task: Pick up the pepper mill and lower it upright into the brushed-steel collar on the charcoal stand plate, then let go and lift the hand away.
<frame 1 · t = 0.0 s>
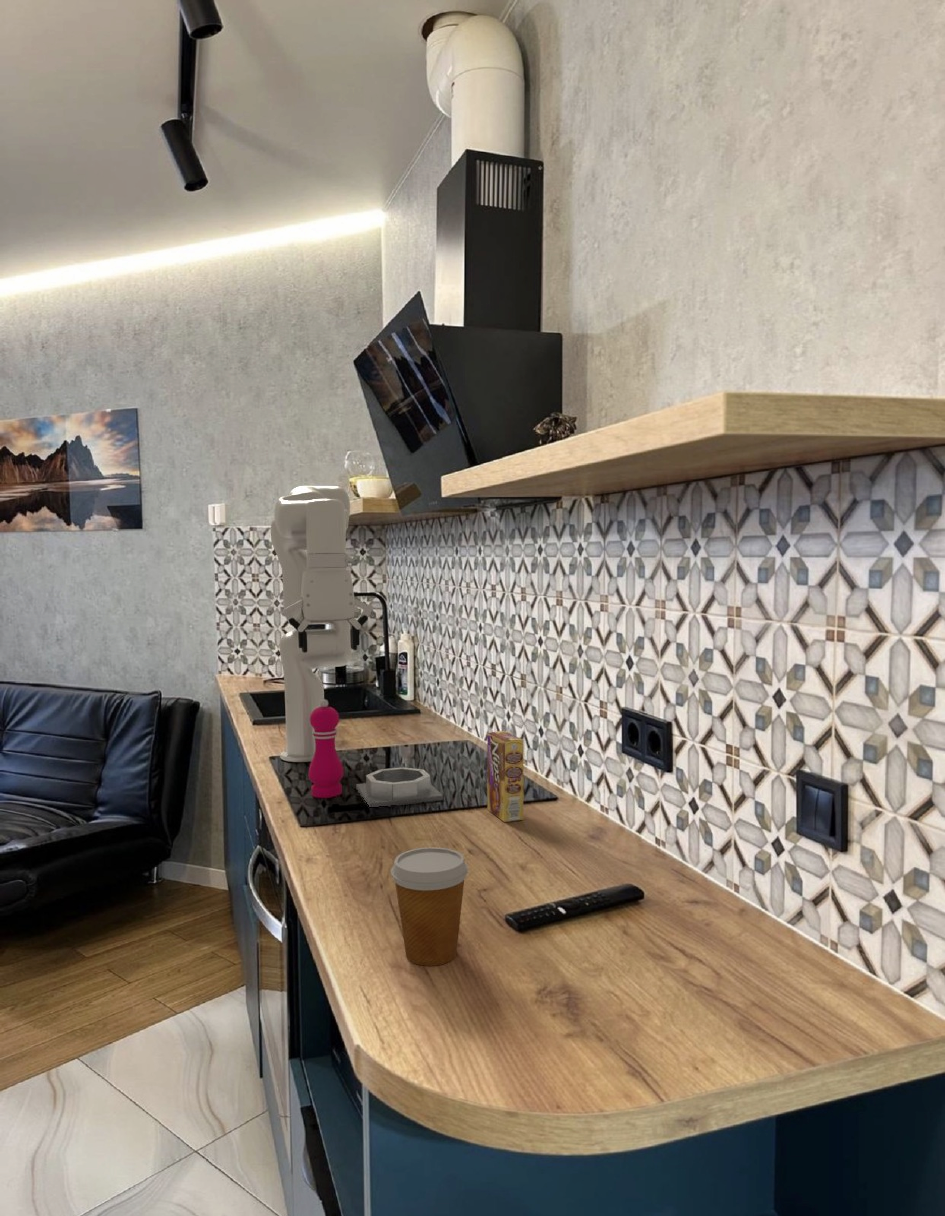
hand: (329, 650, 164), 31 cm above the worktop, tool pointing down, fingers open, 9 cm apart
pepper mill: (326, 794, 175), on the worktop
disposable coffee cup: (431, 955, 104), on the worktop
candy box: (505, 816, 159), on the worktop
collar stand: (398, 794, 174), on the worktop
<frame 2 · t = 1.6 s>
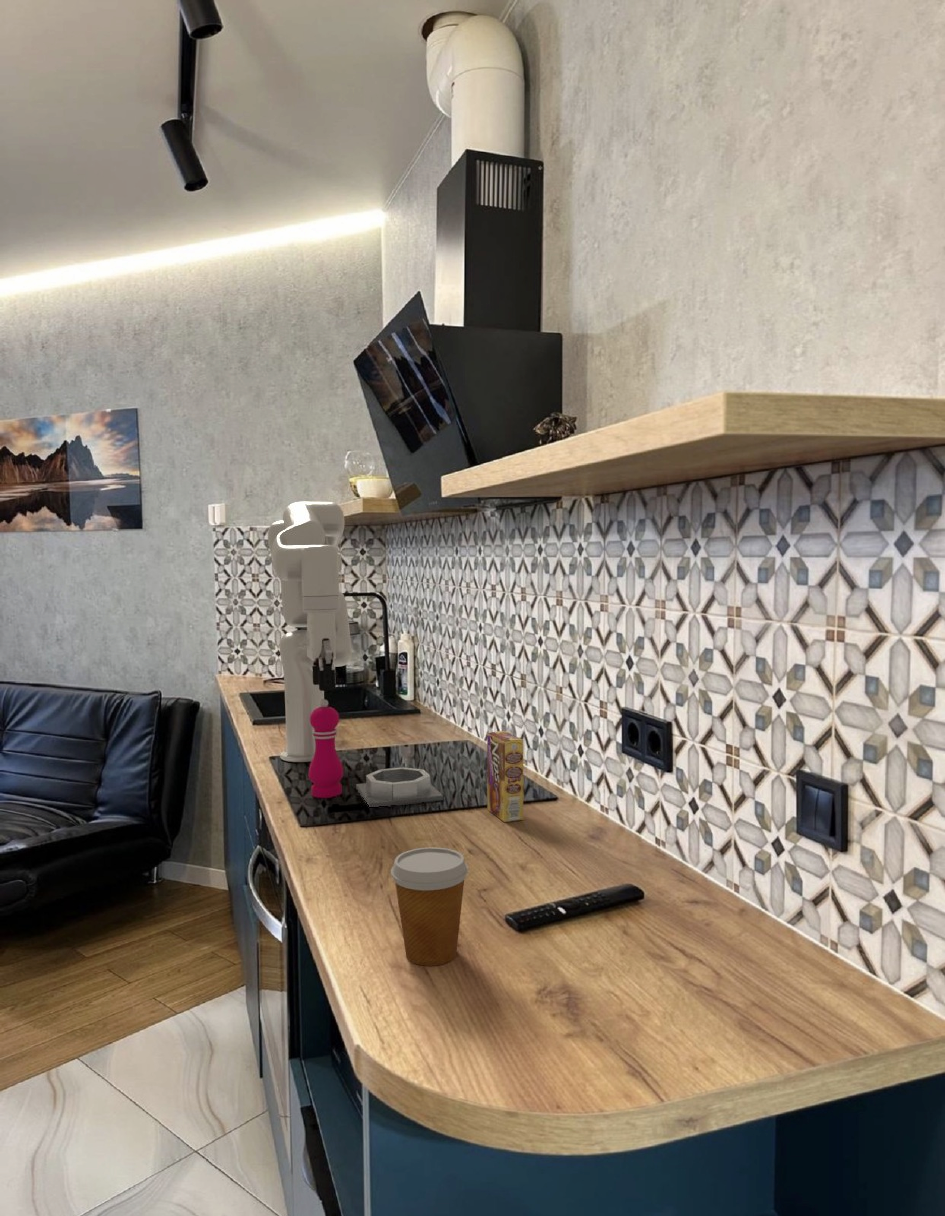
hand: (323, 687, 174), 23 cm above the worktop, tool pointing down, fingers open, 9 cm apart
nothing on the worktop moved.
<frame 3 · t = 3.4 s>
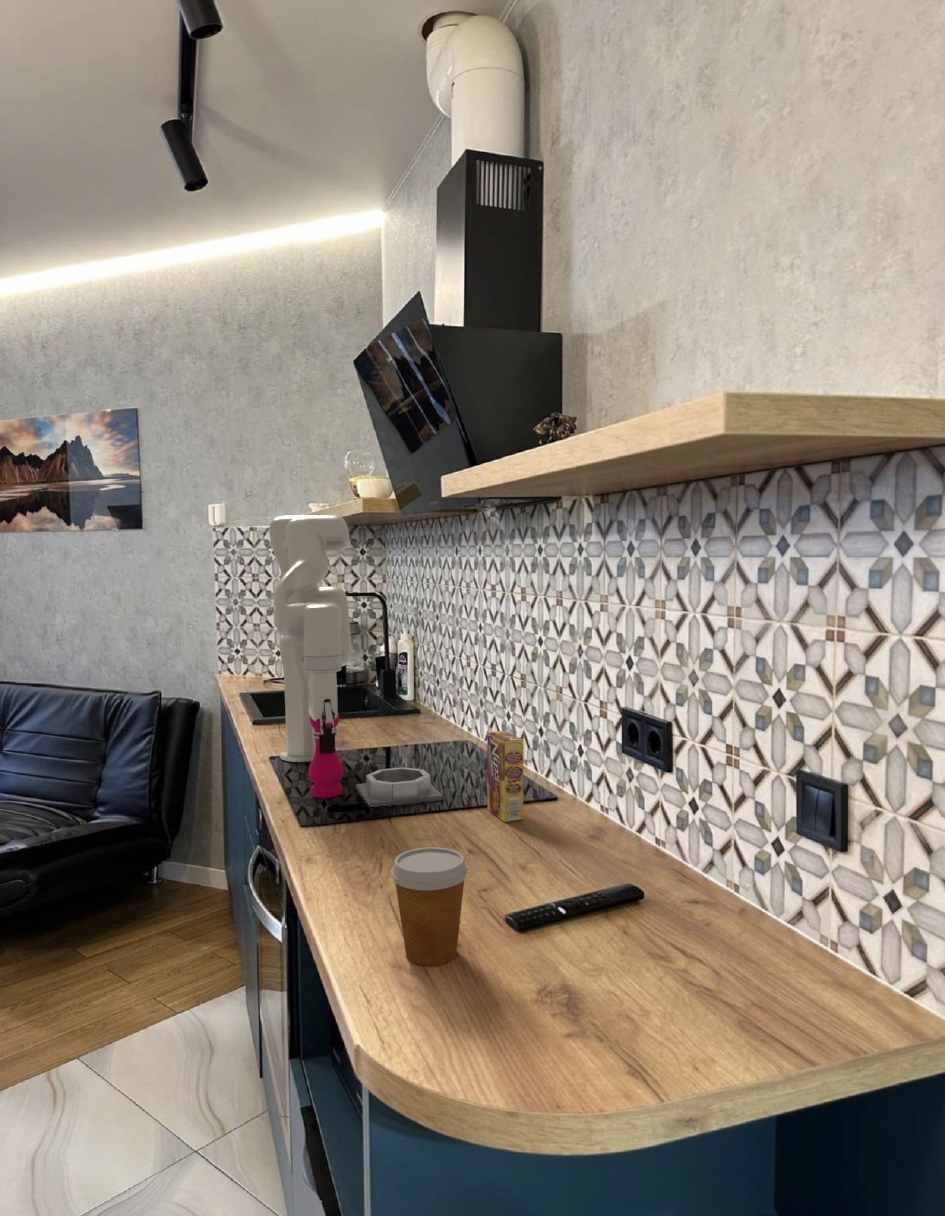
hand: (325, 749, 175), 9 cm above the worktop, tool pointing down, fingers closed on pepper mill, 5 cm apart
pepper mill: (326, 794, 175), on the worktop, touching gripper
everything else where it was.
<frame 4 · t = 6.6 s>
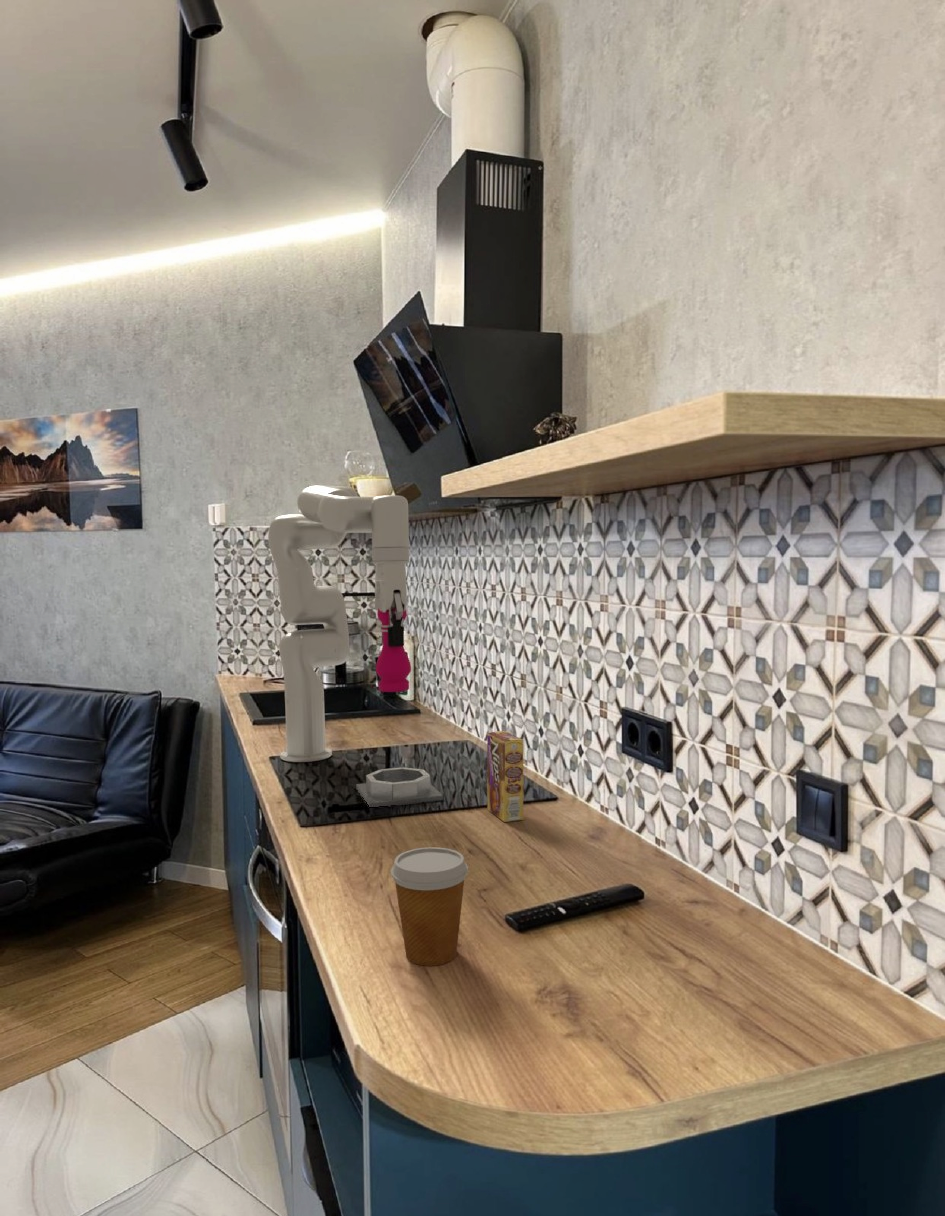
hand: (392, 644, 172), 31 cm above the worktop, tool pointing down, fingers closed on pepper mill, 5 cm apart
pepper mill: (394, 690, 173), point 22 cm above the worktop, touching gripper
everything else where it was.
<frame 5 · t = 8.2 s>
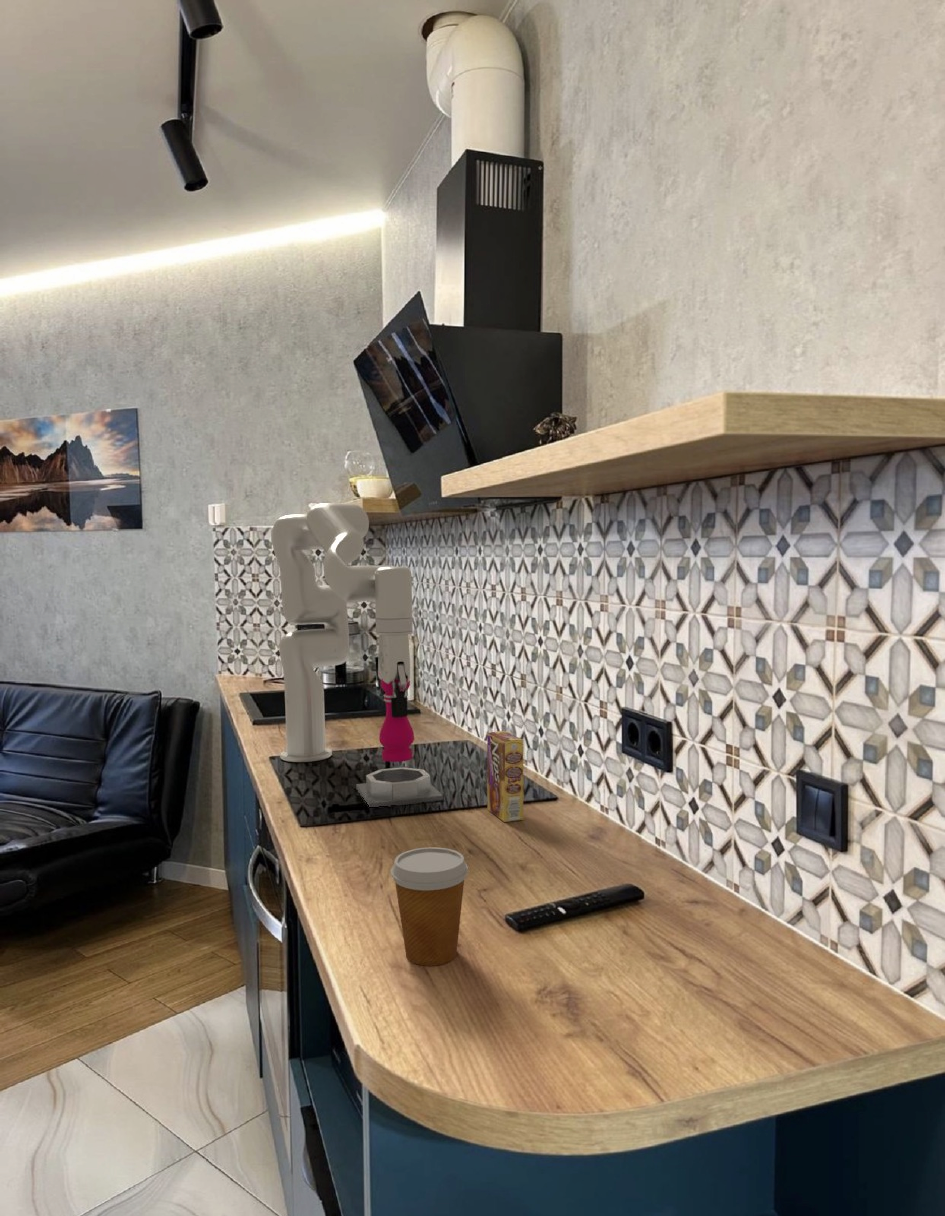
hand: (396, 713, 173), 17 cm above the worktop, tool pointing down, fingers closed on pepper mill, 5 cm apart
pepper mill: (397, 759, 174), point 7 cm above the worktop, touching gripper
everything else where it was.
when the fingers open (12 cm above the worktop, at t = 9.7 s): pepper mill drops 1 cm, resting on collar stand.
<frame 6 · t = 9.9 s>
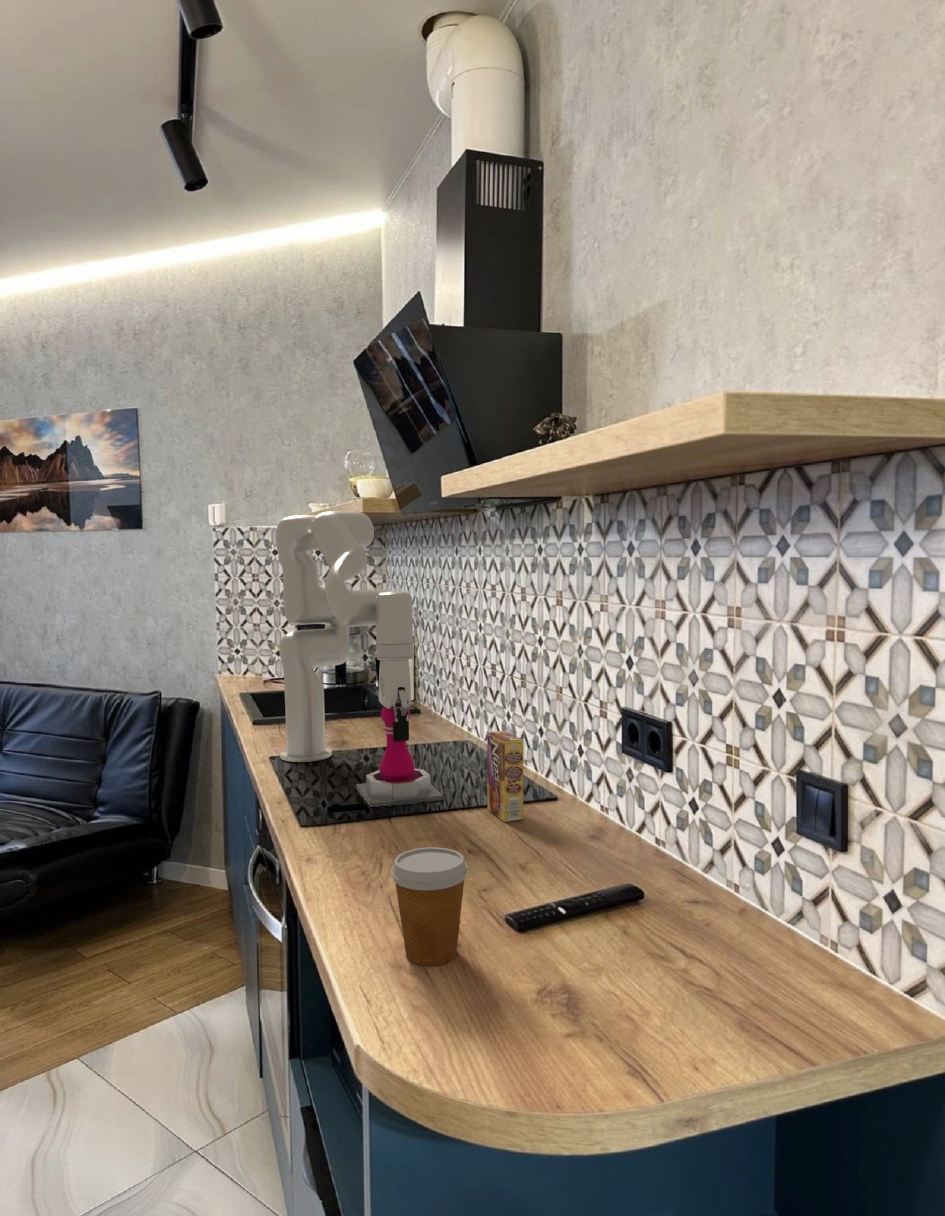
hand: (396, 736, 173), 12 cm above the worktop, tool pointing down, fingers open, 7 cm apart
pepper mill: (397, 790, 174), point 1 cm above the worktop, touching collar stand
everything else where it was.
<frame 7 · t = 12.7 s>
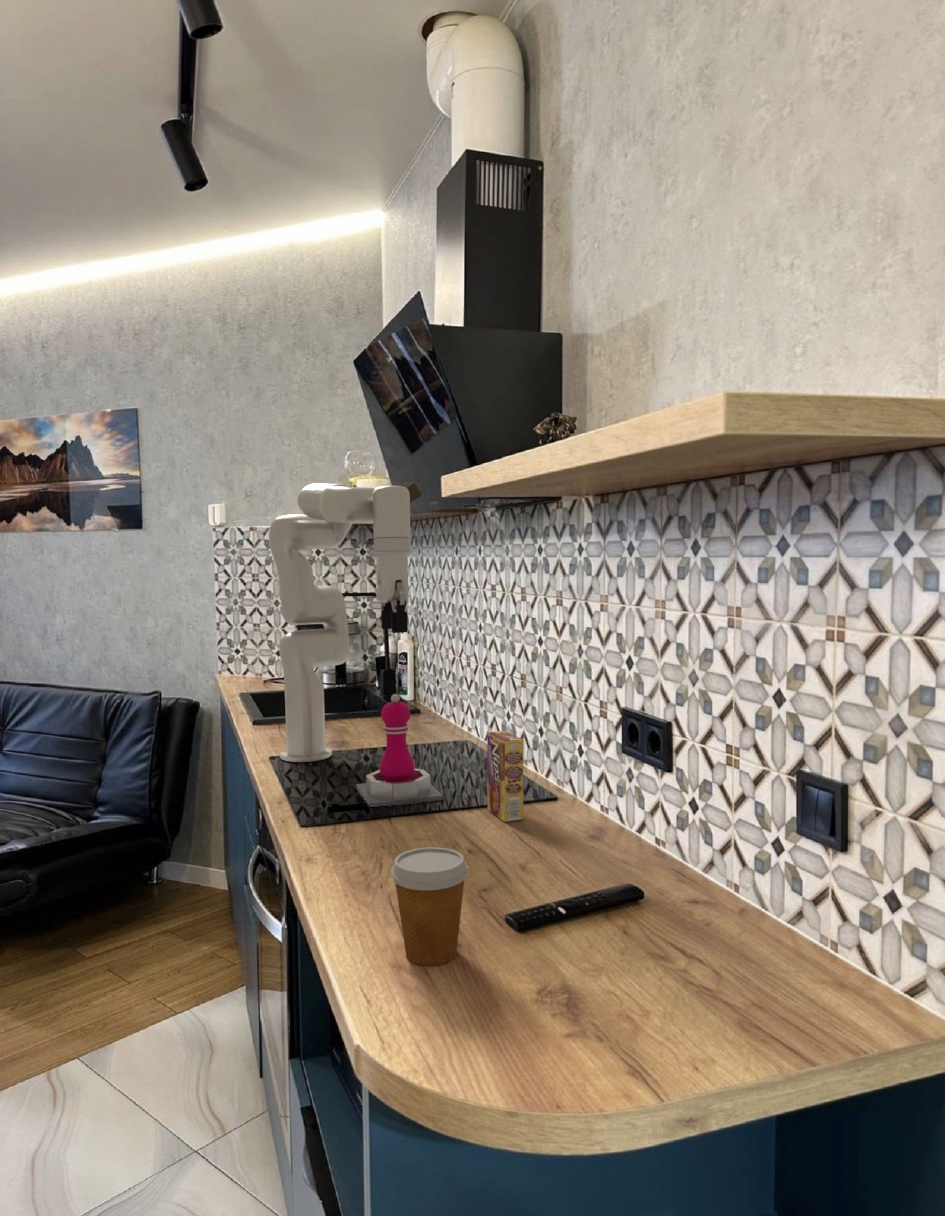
hand: (394, 630, 172), 34 cm above the worktop, tool pointing down, fingers open, 9 cm apart
nothing on the worktop moved.
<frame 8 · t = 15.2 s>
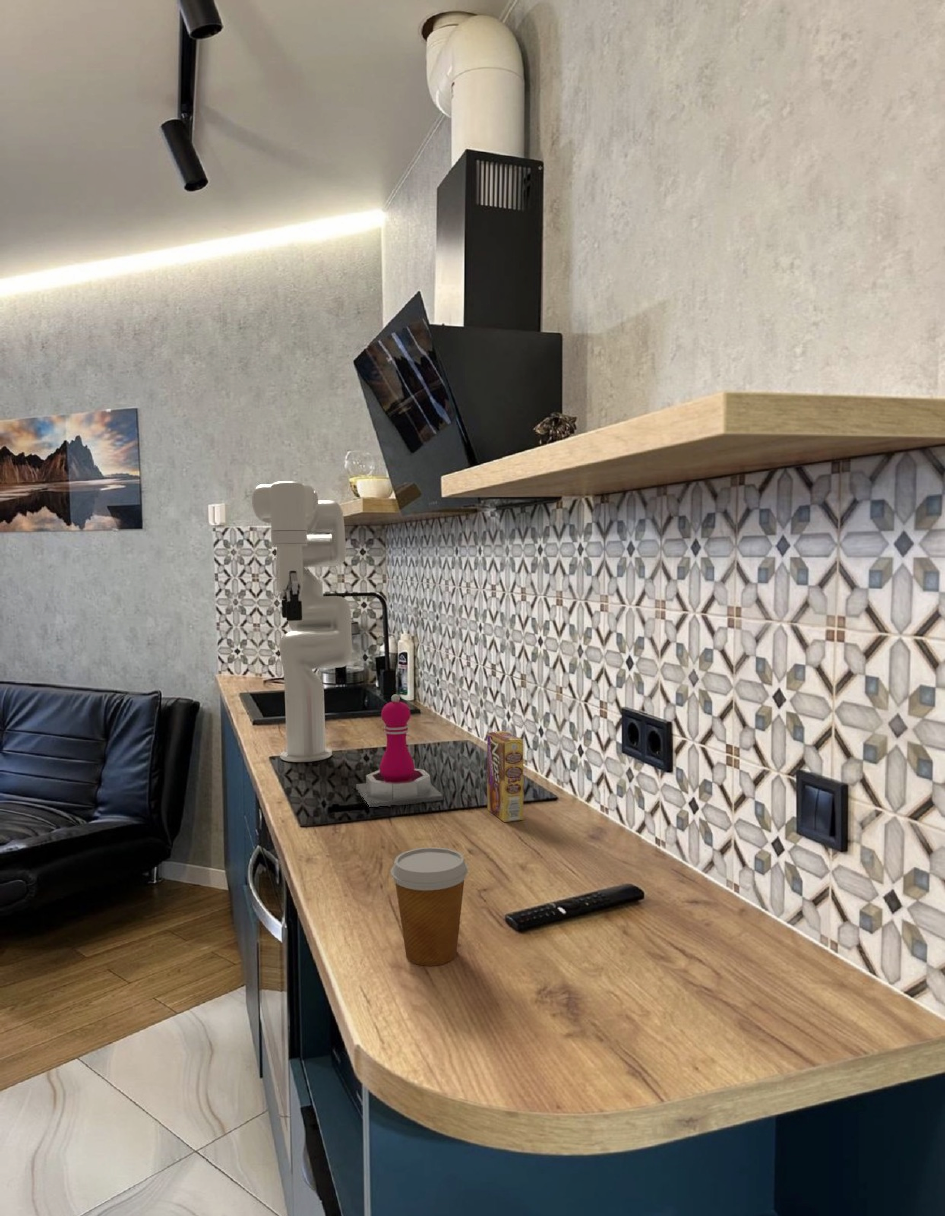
hand: (291, 619, 181), 36 cm above the worktop, tool pointing down, fingers open, 9 cm apart
nothing on the worktop moved.
at the end: pepper mill 0.2 cm off-centre on the collar stand, point 0.8 cm above the collar stand's base; pepper mill tilted 0°; the gripper is holding nothing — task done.
